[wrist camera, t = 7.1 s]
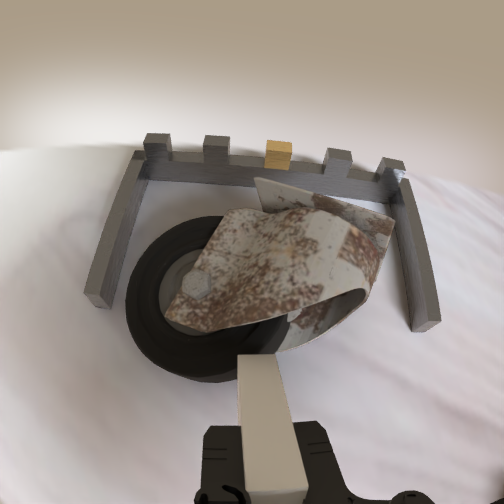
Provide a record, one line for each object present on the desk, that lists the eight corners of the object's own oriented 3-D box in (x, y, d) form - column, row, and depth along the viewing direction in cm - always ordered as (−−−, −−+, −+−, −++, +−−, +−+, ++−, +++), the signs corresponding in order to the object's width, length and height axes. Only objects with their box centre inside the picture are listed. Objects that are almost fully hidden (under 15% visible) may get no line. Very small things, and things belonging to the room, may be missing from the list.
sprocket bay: (398, 196, 24) (416, 164, 20) (424, 332, 18) (456, 310, 15) (140, 169, 23) (131, 133, 20) (96, 306, 17) (71, 279, 14)
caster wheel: (140, 345, 19) (217, 218, 22) (306, 436, 15) (377, 275, 18) (72, 310, 13) (183, 149, 17) (299, 450, 9) (399, 208, 12)
